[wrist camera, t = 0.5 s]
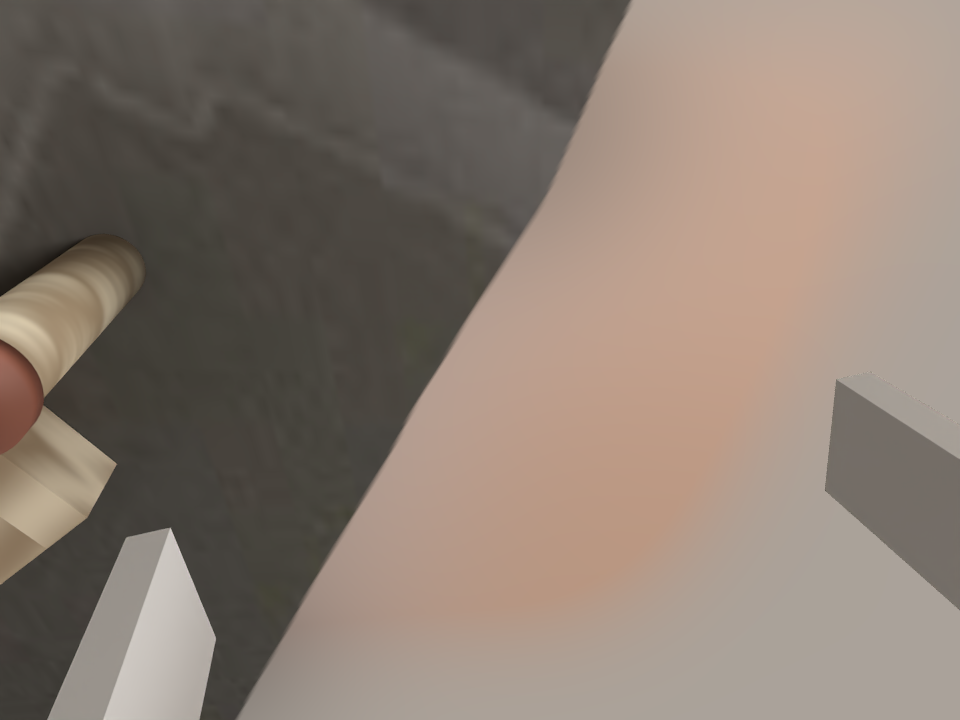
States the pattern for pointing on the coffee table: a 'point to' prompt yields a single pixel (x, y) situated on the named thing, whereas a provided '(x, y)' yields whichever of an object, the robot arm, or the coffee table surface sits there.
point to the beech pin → (59, 323)
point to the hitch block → (46, 489)
